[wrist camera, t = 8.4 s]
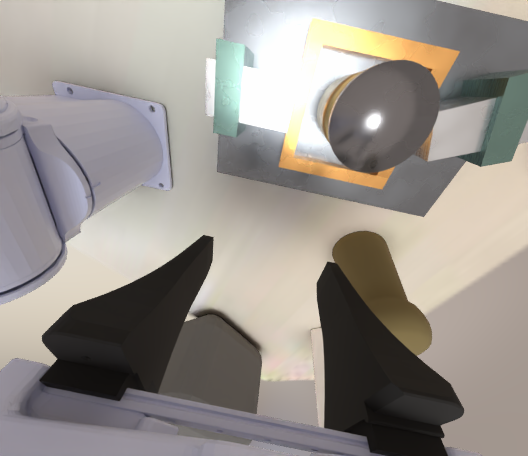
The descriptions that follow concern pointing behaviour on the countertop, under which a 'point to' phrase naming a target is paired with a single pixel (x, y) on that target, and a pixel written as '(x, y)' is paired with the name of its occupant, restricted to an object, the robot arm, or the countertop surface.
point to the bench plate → (353, 61)
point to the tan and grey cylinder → (379, 114)
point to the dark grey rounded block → (213, 371)
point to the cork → (382, 287)
